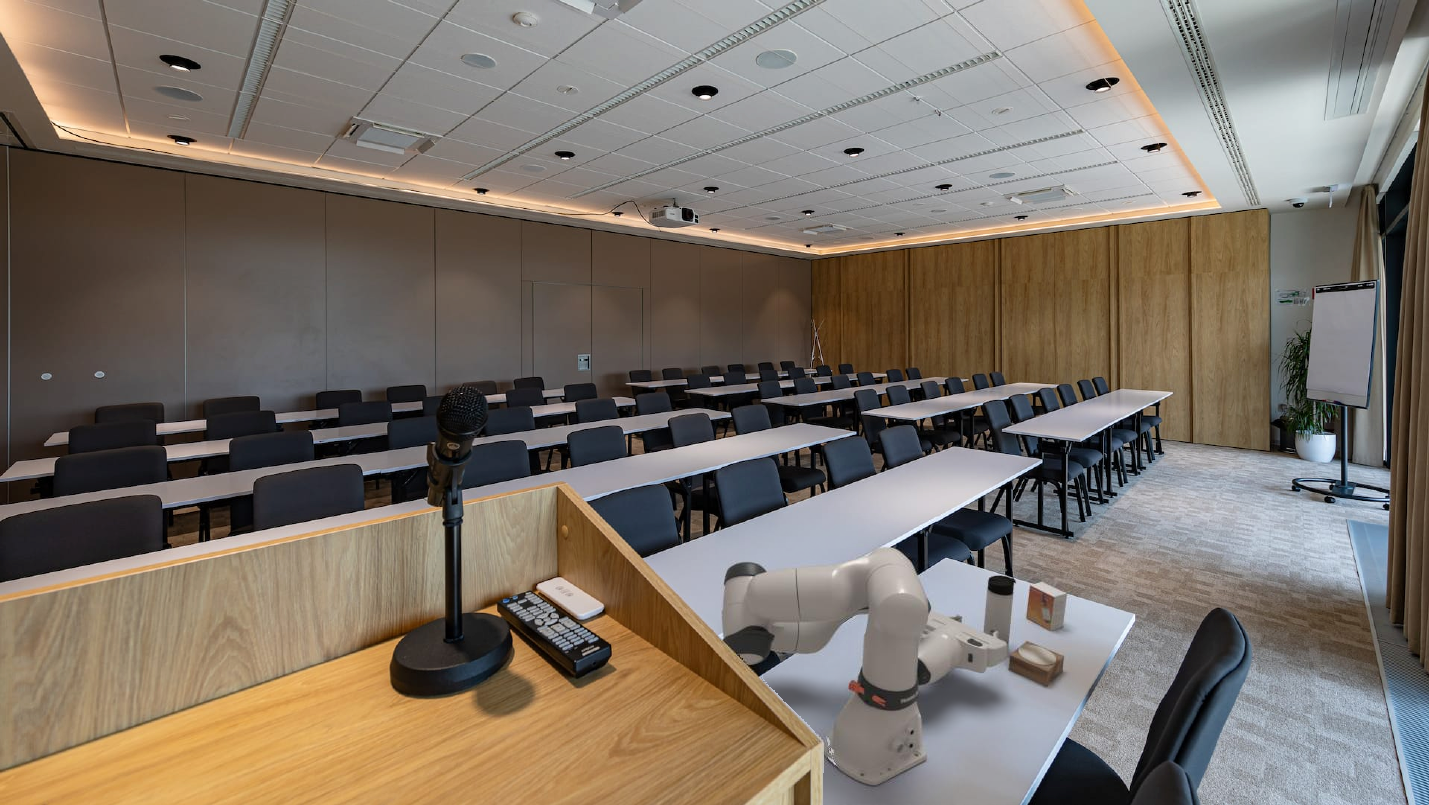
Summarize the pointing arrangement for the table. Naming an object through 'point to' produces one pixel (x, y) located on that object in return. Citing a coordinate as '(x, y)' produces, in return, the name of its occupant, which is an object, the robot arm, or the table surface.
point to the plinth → (1036, 663)
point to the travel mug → (999, 606)
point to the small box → (1046, 606)
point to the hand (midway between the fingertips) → (977, 625)
